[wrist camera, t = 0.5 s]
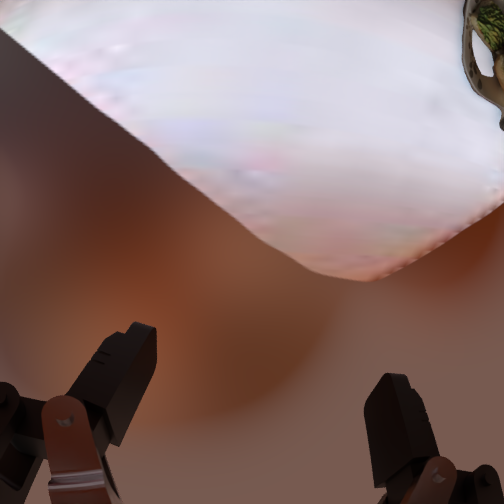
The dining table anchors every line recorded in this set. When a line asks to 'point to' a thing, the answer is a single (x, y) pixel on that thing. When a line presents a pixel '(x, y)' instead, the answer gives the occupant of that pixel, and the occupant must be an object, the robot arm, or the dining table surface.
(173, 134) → the dining table surface
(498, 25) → the salad plate
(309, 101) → the dining table surface
